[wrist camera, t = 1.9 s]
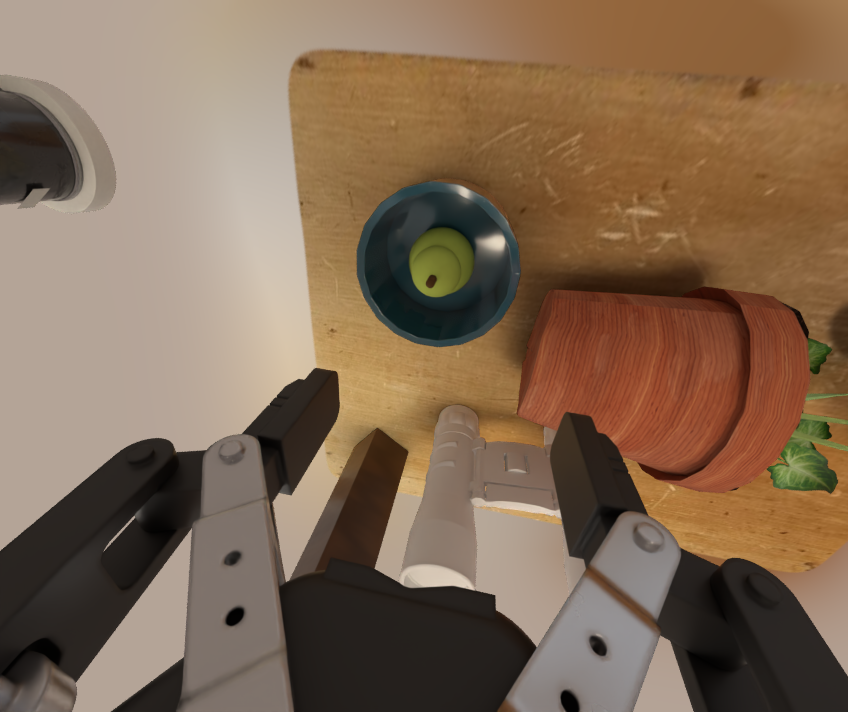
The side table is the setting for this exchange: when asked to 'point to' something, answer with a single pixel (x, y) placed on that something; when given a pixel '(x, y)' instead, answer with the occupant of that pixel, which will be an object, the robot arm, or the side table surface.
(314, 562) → the pedestal
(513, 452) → the binoculars
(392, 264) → the teal bowl
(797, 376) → the potted plant
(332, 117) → the side table surface
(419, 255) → the pear
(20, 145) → the robot arm
